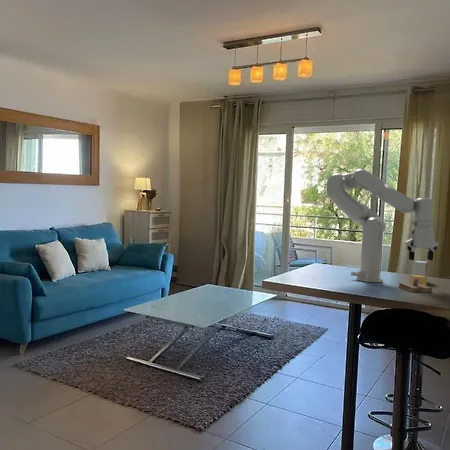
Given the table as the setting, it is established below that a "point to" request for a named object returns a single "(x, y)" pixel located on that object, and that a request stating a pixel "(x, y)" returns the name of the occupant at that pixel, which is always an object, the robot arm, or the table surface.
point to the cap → (421, 279)
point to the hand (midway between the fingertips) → (420, 259)
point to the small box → (420, 268)
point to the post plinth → (415, 287)
